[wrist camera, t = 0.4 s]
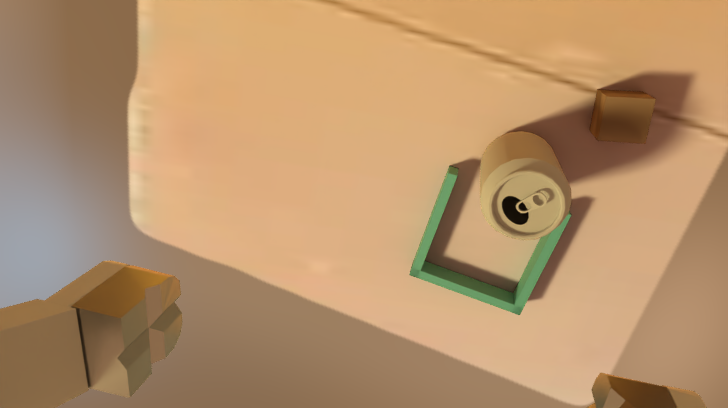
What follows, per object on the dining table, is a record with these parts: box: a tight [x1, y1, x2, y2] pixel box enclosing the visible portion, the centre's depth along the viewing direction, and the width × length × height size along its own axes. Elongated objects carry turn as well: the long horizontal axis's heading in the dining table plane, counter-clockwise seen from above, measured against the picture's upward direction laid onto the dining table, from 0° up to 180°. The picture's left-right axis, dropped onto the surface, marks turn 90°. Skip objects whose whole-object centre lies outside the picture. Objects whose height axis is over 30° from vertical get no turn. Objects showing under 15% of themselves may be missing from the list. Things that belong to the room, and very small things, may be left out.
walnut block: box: [590, 89, 656, 144], centre depth 46 cm, size 4×4×4 cm
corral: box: [409, 166, 571, 315], centre depth 54 cm, size 13×13×2 cm
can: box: [480, 131, 572, 240], centre depth 46 cm, size 8×8×12 cm
